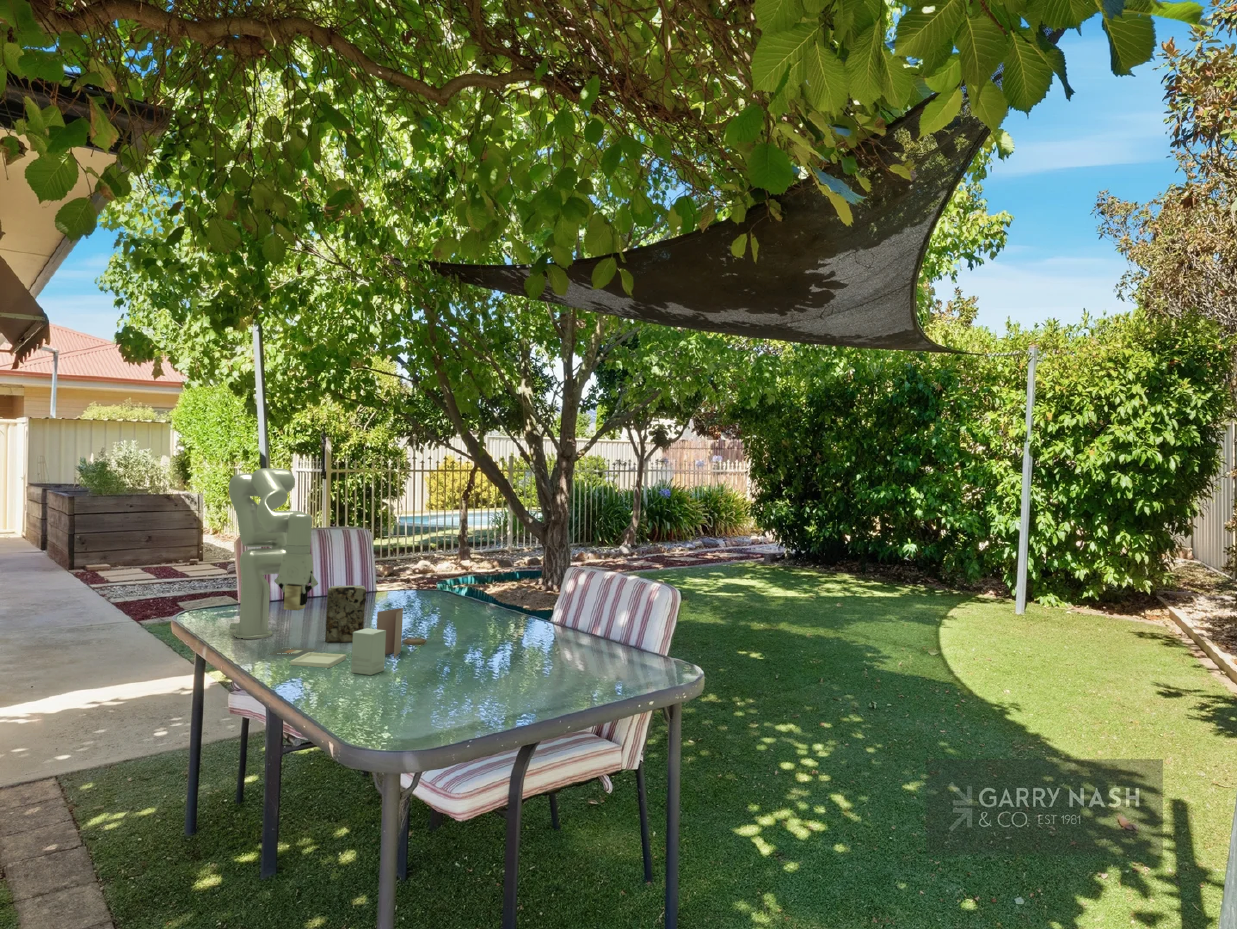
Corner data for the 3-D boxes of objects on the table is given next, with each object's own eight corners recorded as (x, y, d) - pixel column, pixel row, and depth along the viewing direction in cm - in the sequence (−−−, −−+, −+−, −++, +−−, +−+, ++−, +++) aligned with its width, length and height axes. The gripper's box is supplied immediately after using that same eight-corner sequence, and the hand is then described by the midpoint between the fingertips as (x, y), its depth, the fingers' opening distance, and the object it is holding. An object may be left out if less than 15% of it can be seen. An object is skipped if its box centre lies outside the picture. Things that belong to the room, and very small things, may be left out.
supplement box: (385, 670, 247) (387, 630, 247) (370, 675, 240) (372, 634, 240) (365, 667, 249) (367, 627, 249) (350, 672, 242) (352, 631, 242)
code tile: (266, 655, 259) (266, 654, 259) (284, 647, 271) (284, 646, 271) (301, 657, 258) (301, 656, 258) (318, 649, 270) (318, 648, 270)
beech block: (283, 609, 263) (285, 585, 263) (291, 606, 268) (292, 583, 268) (298, 610, 263) (299, 586, 263) (305, 607, 268) (306, 584, 268)
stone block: (361, 638, 290) (364, 584, 291) (364, 642, 284) (367, 587, 284) (323, 640, 284) (326, 585, 284) (326, 644, 278) (329, 587, 278)
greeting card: (399, 650, 274) (401, 607, 274) (414, 653, 270) (416, 610, 271) (373, 656, 264) (375, 611, 265) (389, 659, 260) (391, 614, 261)
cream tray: (289, 665, 247) (290, 660, 247) (308, 656, 260) (308, 652, 260) (329, 668, 246) (329, 663, 246) (345, 659, 259) (346, 654, 259)
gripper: (268, 549, 262) (264, 604, 262) (317, 553, 261) (314, 608, 261) (279, 547, 270) (276, 600, 270) (327, 550, 268) (324, 604, 268)
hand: (294, 603), depth 265 cm, fingers closed on beech block, 5 cm apart
